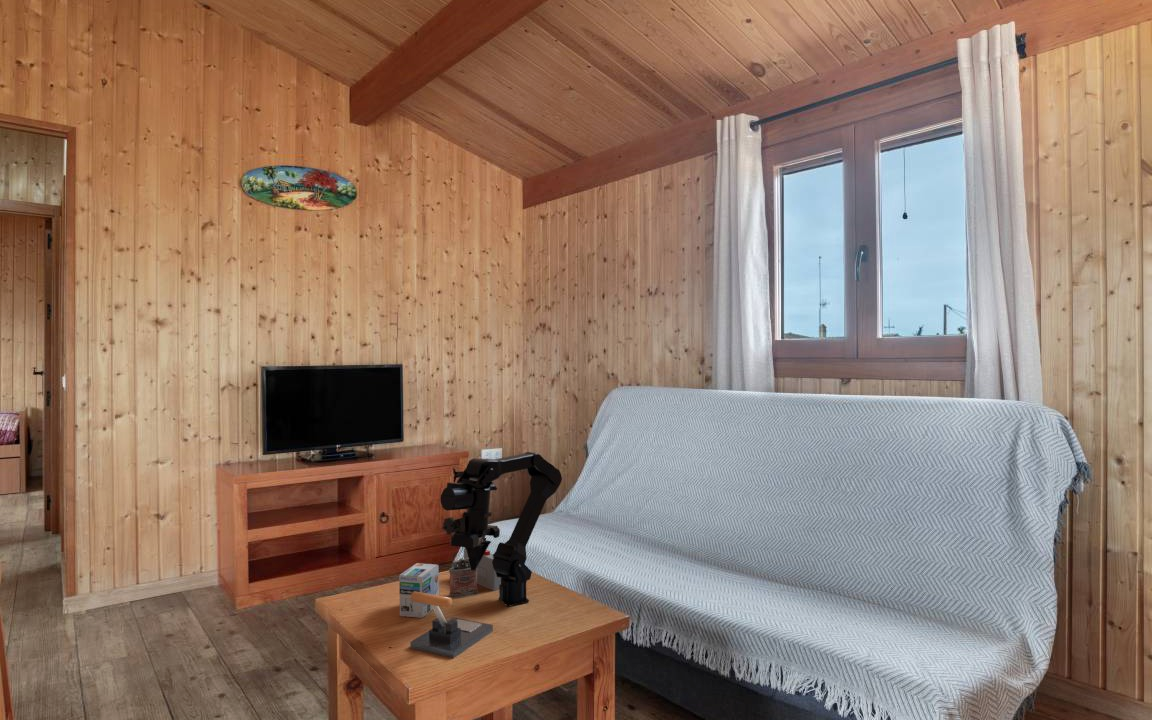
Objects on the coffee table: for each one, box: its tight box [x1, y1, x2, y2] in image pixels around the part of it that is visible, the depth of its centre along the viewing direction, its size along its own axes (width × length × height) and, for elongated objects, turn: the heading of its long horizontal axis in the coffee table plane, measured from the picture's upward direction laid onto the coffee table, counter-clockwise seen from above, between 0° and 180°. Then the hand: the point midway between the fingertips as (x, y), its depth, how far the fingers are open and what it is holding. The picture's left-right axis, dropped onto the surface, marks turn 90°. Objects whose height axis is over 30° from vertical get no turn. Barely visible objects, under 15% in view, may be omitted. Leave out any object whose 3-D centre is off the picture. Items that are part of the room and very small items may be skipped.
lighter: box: [448, 557, 479, 599], centre depth 187 cm, size 8×3×10 cm, turn 114°
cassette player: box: [463, 547, 501, 592], centre depth 196 cm, size 16×3×10 cm, turn 43°
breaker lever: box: [411, 591, 453, 626], centre depth 152 cm, size 2×10×10 cm
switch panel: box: [409, 616, 494, 659], centre depth 157 cm, size 16×12×6 cm
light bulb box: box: [398, 562, 440, 619], centre depth 175 cm, size 11×7×11 cm, turn 168°
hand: (473, 569), depth 170 cm, fingers closed
